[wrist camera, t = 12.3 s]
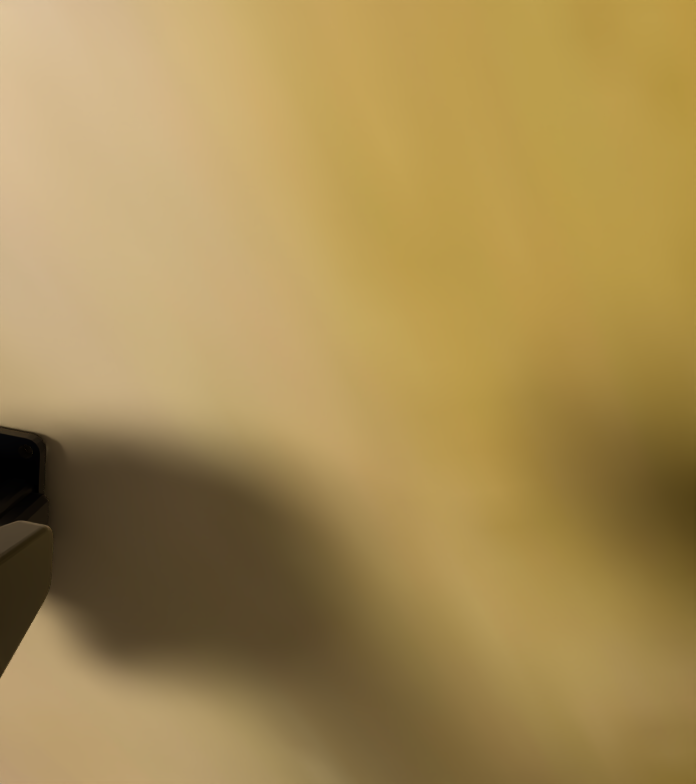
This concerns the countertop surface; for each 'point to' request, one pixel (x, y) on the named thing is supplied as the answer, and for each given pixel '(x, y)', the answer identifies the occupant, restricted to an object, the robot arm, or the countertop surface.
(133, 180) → the countertop surface
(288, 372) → the countertop surface
